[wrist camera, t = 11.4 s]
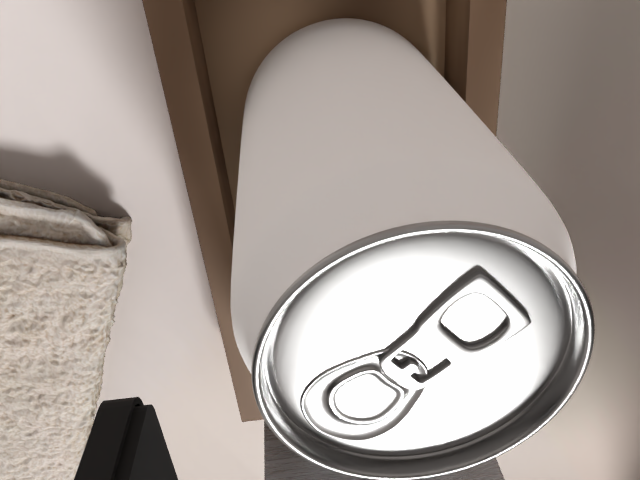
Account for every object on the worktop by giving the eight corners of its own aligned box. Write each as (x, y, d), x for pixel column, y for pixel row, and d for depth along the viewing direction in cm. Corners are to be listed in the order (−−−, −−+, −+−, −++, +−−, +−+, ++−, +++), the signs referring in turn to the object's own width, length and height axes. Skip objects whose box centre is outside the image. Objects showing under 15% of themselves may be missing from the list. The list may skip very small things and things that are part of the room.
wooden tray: (482, -87, 17) (520, -80, 15) (459, 342, 26) (480, 391, 24) (145, -51, 17) (125, -38, 15) (239, 369, 26) (237, 422, 24)
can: (202, 118, 19) (137, 389, 9) (344, -34, 17) (462, 97, 7) (337, 232, 22) (401, 536, 12) (473, 112, 20) (692, 358, 10)
